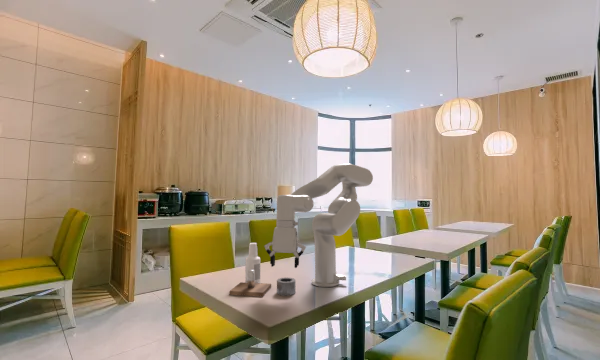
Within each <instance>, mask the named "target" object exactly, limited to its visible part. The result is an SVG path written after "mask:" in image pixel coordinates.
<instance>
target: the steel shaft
mask: <svg viewBox="0 0 600 360" xmlns="http://www.w3.org/2000/svg"><path fill="white" fill-rule="evenodd" d="M254 287H255V270H254V269H249V270H248V288H254Z"/></svg>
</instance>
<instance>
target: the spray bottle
mask: <svg viewBox="0 0 600 360" xmlns="http://www.w3.org/2000/svg"><path fill="white" fill-rule="evenodd" d="M257 245H258V243H257V242H250V243H249V247H248V256H247V257H246V258H245V263H244V264H245V266H244V267H245V275H244V278H245V282H244V283H248V270H249V269H254V270H255V283H261V257H260V256H259V255H258V246H257Z"/></svg>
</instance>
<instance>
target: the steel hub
mask: <svg viewBox="0 0 600 360" xmlns="http://www.w3.org/2000/svg"><path fill="white" fill-rule="evenodd" d="M296 282H297V281H296V279H295V278H293V277H279V278H278V279H277V280H276V294H277V295H279V296H293V295H295V294H296V290H297V289H296V285H297V284H296Z"/></svg>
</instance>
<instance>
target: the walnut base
mask: <svg viewBox="0 0 600 360" xmlns="http://www.w3.org/2000/svg"><path fill="white" fill-rule="evenodd" d="M271 288H272V283H265V282H264V283H261V282H260V283H255V287H254V288H248V283H245V282H243V281H242V282H239V283H238V284H237V285H235V286H234V287H233V288H232V289H230V290H229V294H228V295H229V296H244V297H245V296H246V297H264V296H265V295H266V294H267V293H268V292H269V290H270V289H271Z"/></svg>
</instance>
